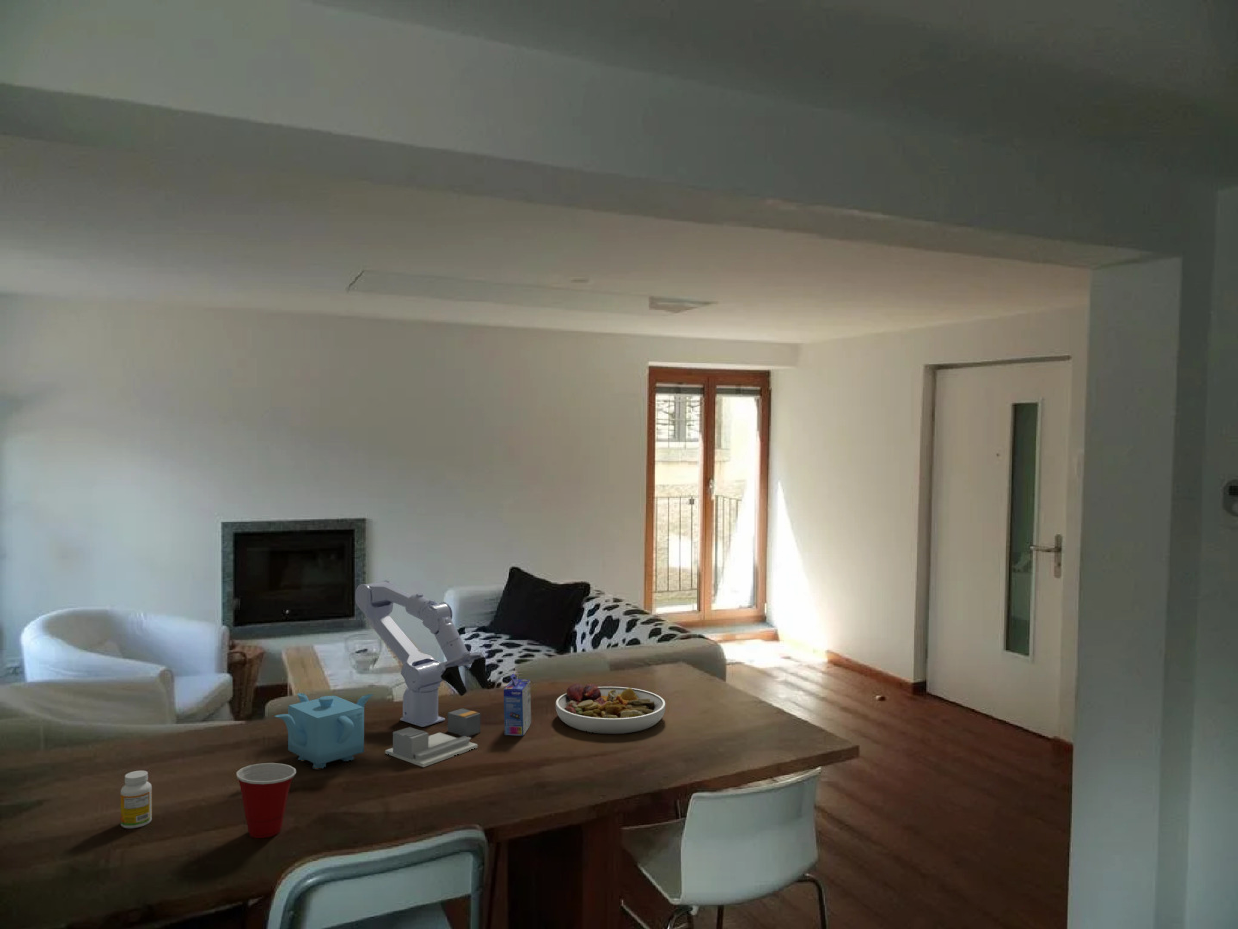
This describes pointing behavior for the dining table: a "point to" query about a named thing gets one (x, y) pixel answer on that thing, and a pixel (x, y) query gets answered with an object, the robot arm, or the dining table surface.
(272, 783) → the plastic cup
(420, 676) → the robot arm
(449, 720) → the block
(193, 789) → the dining table surface
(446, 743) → the rail plate
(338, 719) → the teakettle
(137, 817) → the supplement bottle
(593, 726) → the bowl
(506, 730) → the ink cartridge box
